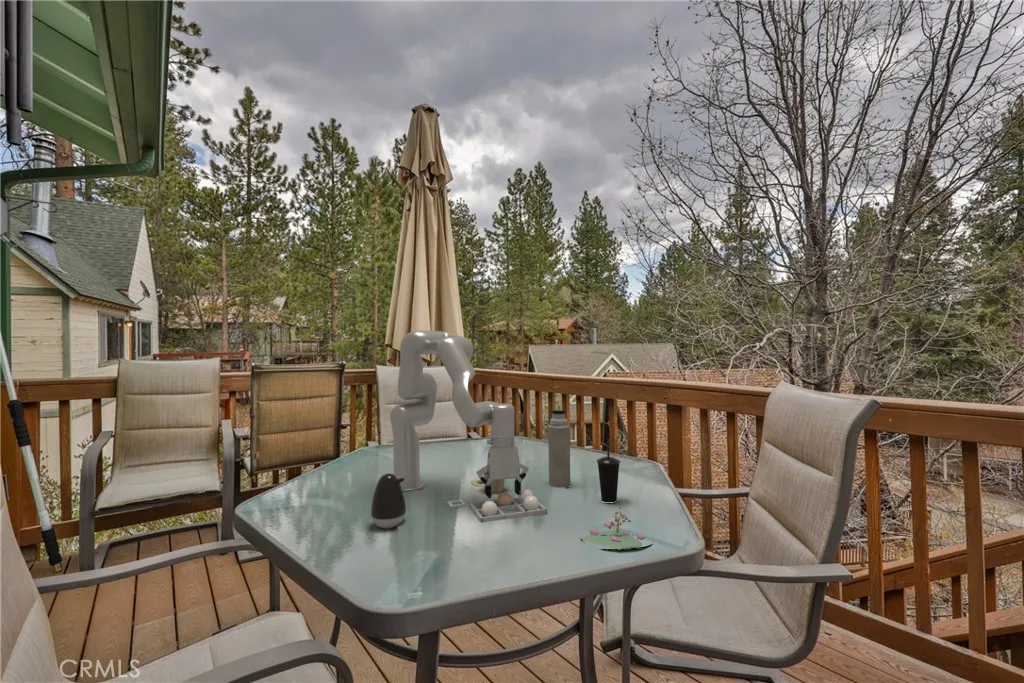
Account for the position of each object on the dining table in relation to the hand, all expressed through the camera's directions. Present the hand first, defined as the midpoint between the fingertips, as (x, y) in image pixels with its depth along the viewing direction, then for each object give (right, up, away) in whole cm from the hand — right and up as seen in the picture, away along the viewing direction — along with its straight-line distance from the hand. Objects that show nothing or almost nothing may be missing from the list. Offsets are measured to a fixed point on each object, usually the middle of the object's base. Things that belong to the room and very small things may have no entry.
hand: (503, 495), depth 152 cm
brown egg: (+1, -4, -1) cm, 4 cm away
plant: (+31, -5, -20) cm, 38 cm away
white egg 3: (+9, -4, -4) cm, 11 cm away
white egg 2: (+7, -4, +2) cm, 8 cm away
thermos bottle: (+21, -4, +24) cm, 32 cm away
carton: (+1, -4, -3) cm, 6 cm away
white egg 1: (-4, -4, -9) cm, 10 cm away
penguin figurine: (-34, -5, -13) cm, 36 cm away
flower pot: (-3, -5, +17) cm, 18 cm away
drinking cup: (+35, -4, +5) cm, 36 cm away
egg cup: (-15, -5, +2) cm, 16 cm away
